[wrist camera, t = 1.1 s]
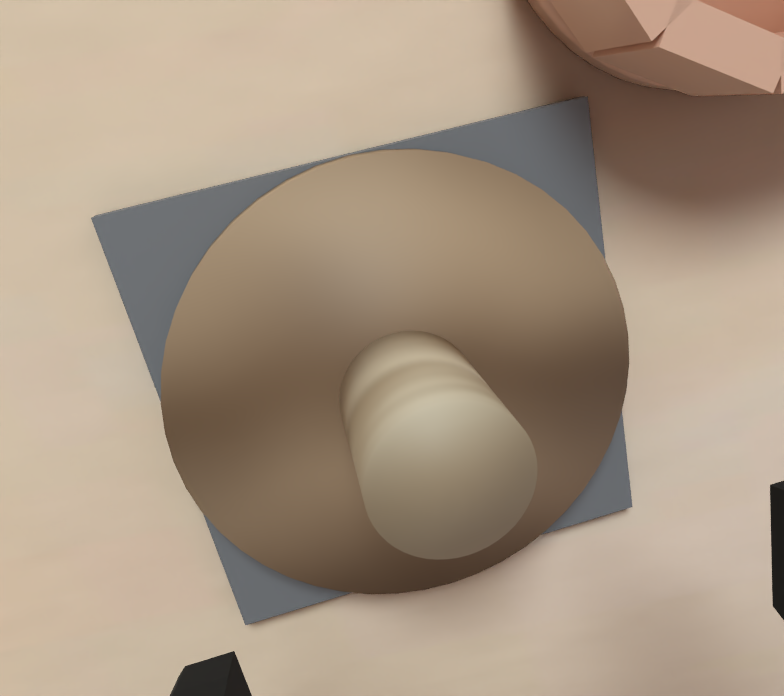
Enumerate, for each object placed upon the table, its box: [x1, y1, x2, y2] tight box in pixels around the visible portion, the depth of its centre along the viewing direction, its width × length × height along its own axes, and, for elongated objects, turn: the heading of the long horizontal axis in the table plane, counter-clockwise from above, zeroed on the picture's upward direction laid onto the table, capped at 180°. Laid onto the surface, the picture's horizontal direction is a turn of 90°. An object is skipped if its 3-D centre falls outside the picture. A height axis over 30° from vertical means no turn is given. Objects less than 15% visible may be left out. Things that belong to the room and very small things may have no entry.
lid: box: [161, 148, 629, 594], centre depth 15 cm, size 11×11×5 cm
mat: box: [91, 97, 632, 625], centre depth 17 cm, size 11×11×1 cm
